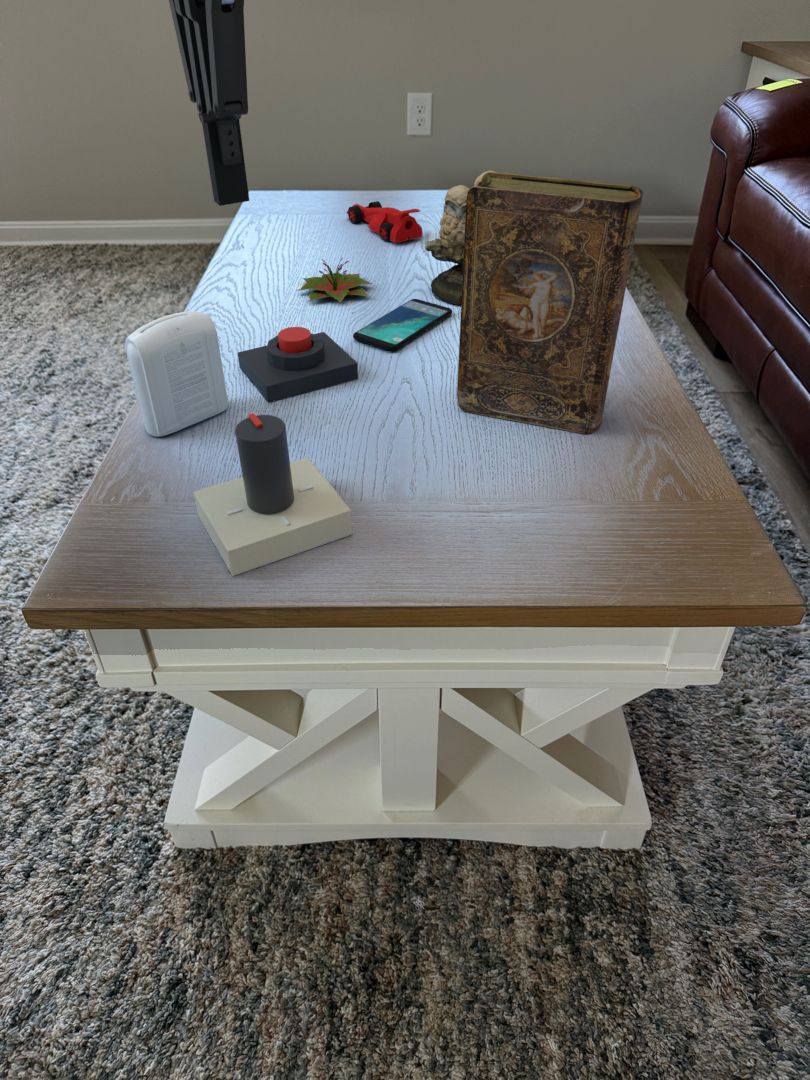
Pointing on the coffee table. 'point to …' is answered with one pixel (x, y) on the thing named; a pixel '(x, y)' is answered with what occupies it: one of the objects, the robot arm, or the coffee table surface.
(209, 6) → the robot arm
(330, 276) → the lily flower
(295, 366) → the power box
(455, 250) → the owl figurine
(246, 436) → the dial
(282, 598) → the coffee table surface
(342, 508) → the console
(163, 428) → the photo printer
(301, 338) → the power button
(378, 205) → the toy car
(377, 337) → the smartphone
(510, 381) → the book
